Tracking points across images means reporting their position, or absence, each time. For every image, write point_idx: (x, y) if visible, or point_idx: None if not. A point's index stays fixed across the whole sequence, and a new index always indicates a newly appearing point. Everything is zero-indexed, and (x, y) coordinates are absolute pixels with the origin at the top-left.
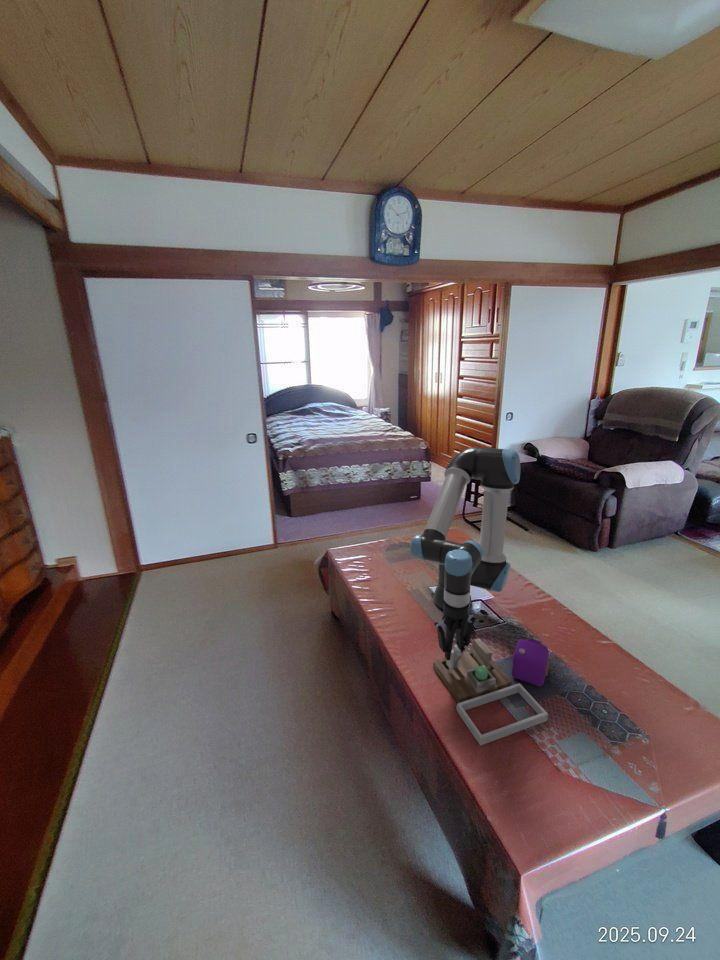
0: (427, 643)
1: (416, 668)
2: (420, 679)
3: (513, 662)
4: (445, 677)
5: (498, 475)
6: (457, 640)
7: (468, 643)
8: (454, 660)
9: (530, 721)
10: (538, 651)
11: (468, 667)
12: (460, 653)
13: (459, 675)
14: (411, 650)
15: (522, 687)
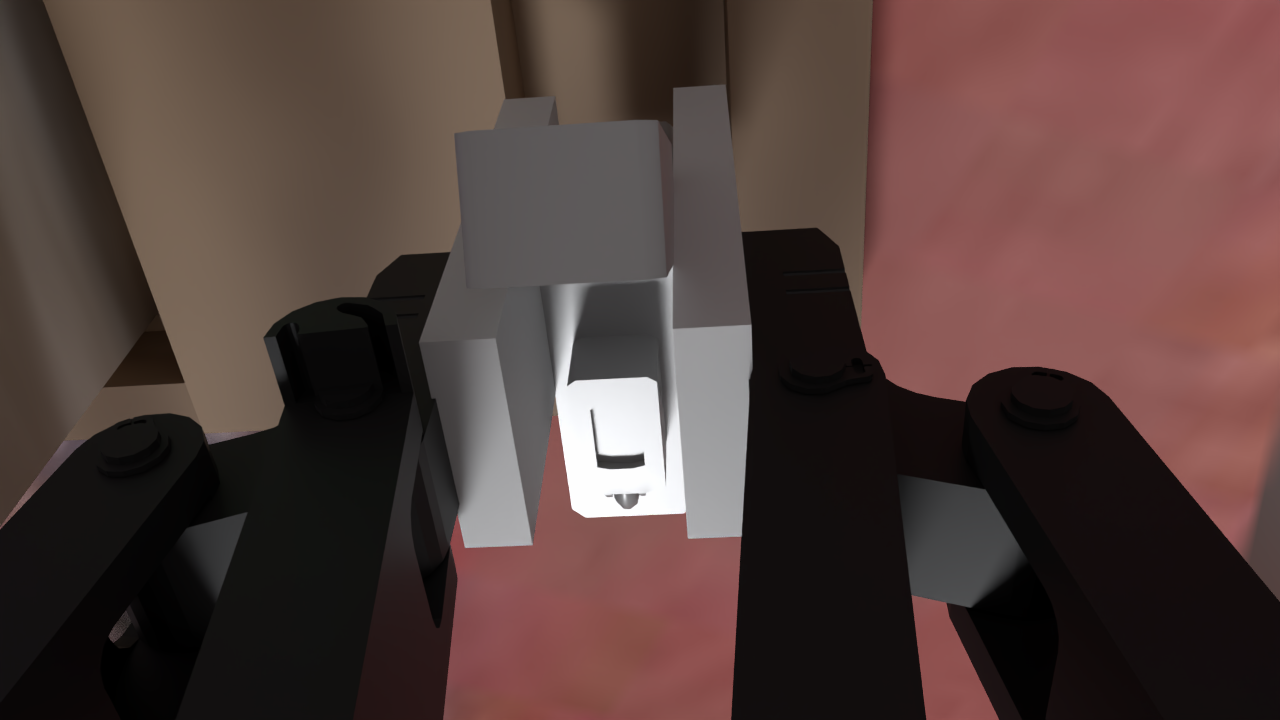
0: (692, 685)
1: (1088, 375)
2: (1172, 170)
3: None
4: (861, 2)
5: None
6: (430, 650)
7: (84, 472)
8: (670, 161)
9: None
10: None
11: (306, 109)
12: (514, 197)
13: (517, 48)
14: (957, 644)
15: None
